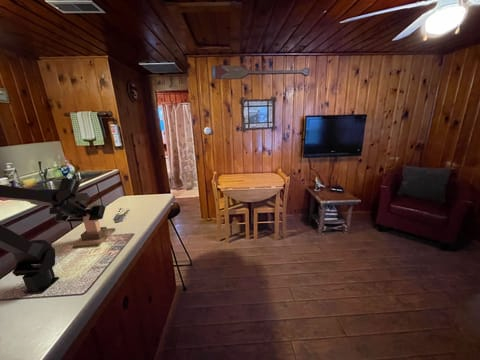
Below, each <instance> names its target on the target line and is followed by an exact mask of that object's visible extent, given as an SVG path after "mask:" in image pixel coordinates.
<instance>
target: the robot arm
mask: <svg viewBox="0 0 480 360" xmlns="http://www.w3.org/2000/svg"><path fill="white" fill-rule="evenodd" d="M80 186H81V182H80V181H79V180H75V179H72V178H68V177H62V178H61V180H60V184H59V185H58V188H51V189H36V188H35V189H33V188H29V187H28V188H26V187H21V186H12V185H5V184H0V200H6V201H7V200H8V201H18V202H19V201H22V202H27V203H28V202H29V203H30V204H31V205H35V206H39V207H41V206H43V207H44V206H50V207H49V211H48V212H49V215H55V217H54V219H55V222H57V223H66V222H68V223H73V222H83V217H86V216H87V214H88V215H90V217H89V220H98V221H99V220H102V219H103V218H104V214H105V211H106V206H105V205H103V204H94V205H93V206H91V207H88V206H89V205H88V202H89V201H90V200H91V196H90V195H89V194H88V193H87V192H80V193H79V188H80ZM86 208H89V209H86ZM53 245H54V244H53V243H49V242H48V241H47V240H46V239H34V240H33V239H32V240H29V239H27V238H26V237H24V236H22V235H20V234H19V233H17V232H15V231H13V230H12V229H10V228H9V227H8V228H7V227H6V226H4V225H3V224H1V223H0V249H2V250H5V251H6V252H9V253H11V254H13V258H14V260H15V262H16V264H15V266H14V268H13V270H12V275H13V276H16V277H21V276H22V280H23V282H24V285H25V287H26V288H25V289H24V291H23V294H42V293H43V292H45V291H46V290H47V289H49V288H50V287H51V286H53V284H55V283H56V282H57V281H58V280H59V279H60V277H59V276H56V274H55V271H54V269H53V268H54V266H55V265H56V251H55V248H54V246H53Z"/></svg>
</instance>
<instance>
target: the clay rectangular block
mask: <svg viewBox="0 0 480 360" xmlns="http://www.w3.org/2000/svg"><path fill="white" fill-rule="evenodd" d="M89 208H90V207H87V208H86V209H89ZM89 217H90V215H88V214H87V216H86V217H83V221H82V222H83V224H84V228H85V231H86V232H87V233H98V232H99V231H100V230H101V228H100V227H101V225H100V221H99V220H89Z"/></svg>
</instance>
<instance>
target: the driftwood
mask: <svg viewBox="0 0 480 360" xmlns="http://www.w3.org/2000/svg"><path fill="white" fill-rule="evenodd" d="M121 209H123V208H121V207H120V208H119V210H118V212H120V210H121ZM118 212H117V213H118ZM128 212H129V209H127V210H126V211H124V212H123V213H122V214H119V213H118V214H117V213H116V214H115V216H114V218H112V219H113V222H114V223H119V222H124V217H126V214H127V213H128ZM120 213H121V212H120Z"/></svg>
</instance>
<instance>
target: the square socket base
mask: <svg viewBox="0 0 480 360" xmlns="http://www.w3.org/2000/svg"><path fill="white" fill-rule="evenodd" d="M100 228H101V230H100V231H99V232H98V233H87V232H86V230H85V231H83V232H82V233H81V234H80V239H79V240H78V241H76V242H75V243H74V244H73V245H72V249H80V248H91V247H92V248H93V247H99V246H101V245H102V244H103V243H104V242H105V241H106V240H107V239H108V238H109V237H110V236H111V235H112V234H113V233H114V232H116V228H115V227H112V228H107V226H100Z"/></svg>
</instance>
